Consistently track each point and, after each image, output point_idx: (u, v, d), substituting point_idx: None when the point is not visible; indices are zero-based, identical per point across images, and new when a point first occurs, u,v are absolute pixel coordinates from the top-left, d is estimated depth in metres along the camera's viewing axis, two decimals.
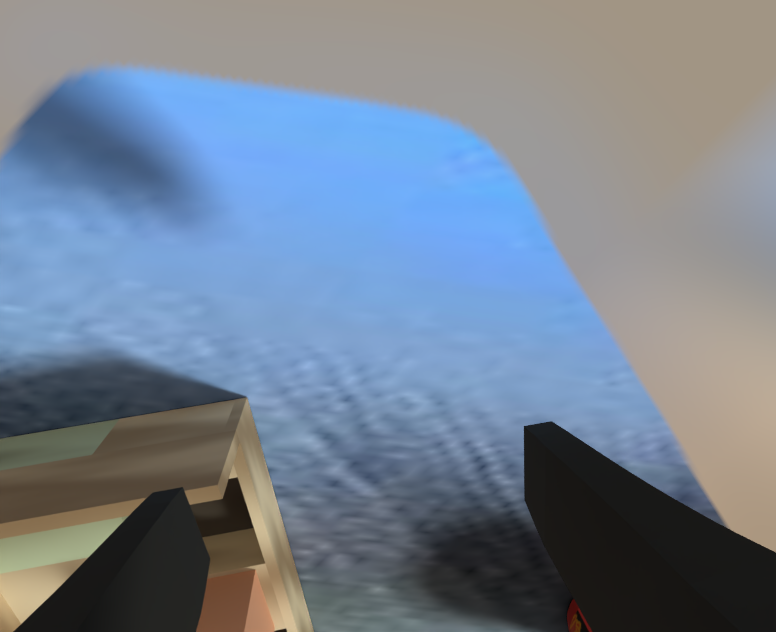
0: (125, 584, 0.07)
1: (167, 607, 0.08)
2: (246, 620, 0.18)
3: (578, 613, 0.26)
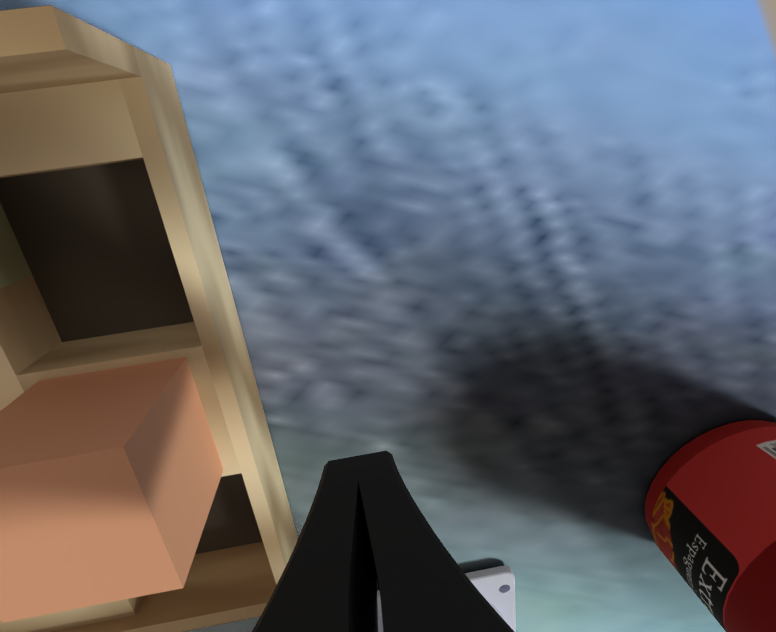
0: (356, 540, 0.07)
1: (368, 568, 0.08)
2: (156, 401, 0.10)
3: (667, 489, 0.18)
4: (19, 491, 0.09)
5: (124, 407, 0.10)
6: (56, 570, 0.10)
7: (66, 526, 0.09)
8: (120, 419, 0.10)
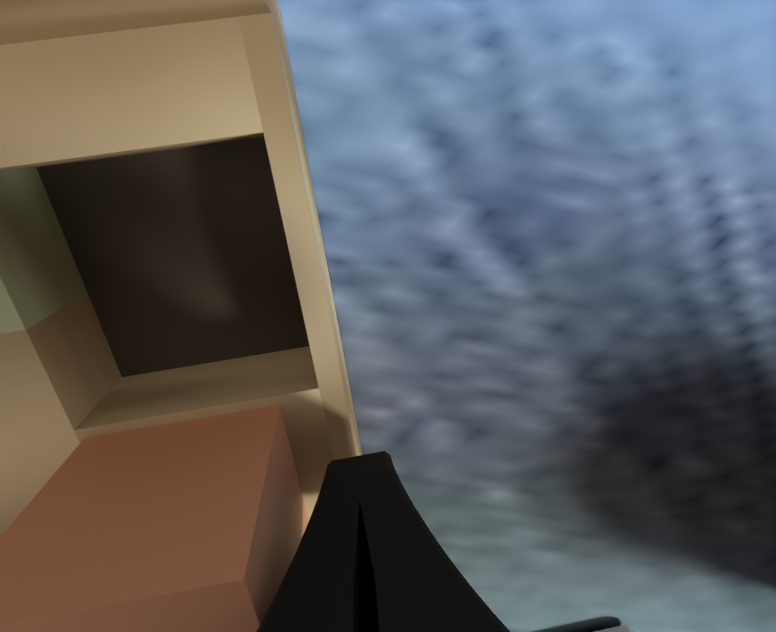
0: (359, 539, 0.07)
1: (371, 567, 0.08)
2: (263, 483, 0.07)
3: None
4: None
5: (220, 494, 0.07)
6: None
7: None
8: (221, 518, 0.07)
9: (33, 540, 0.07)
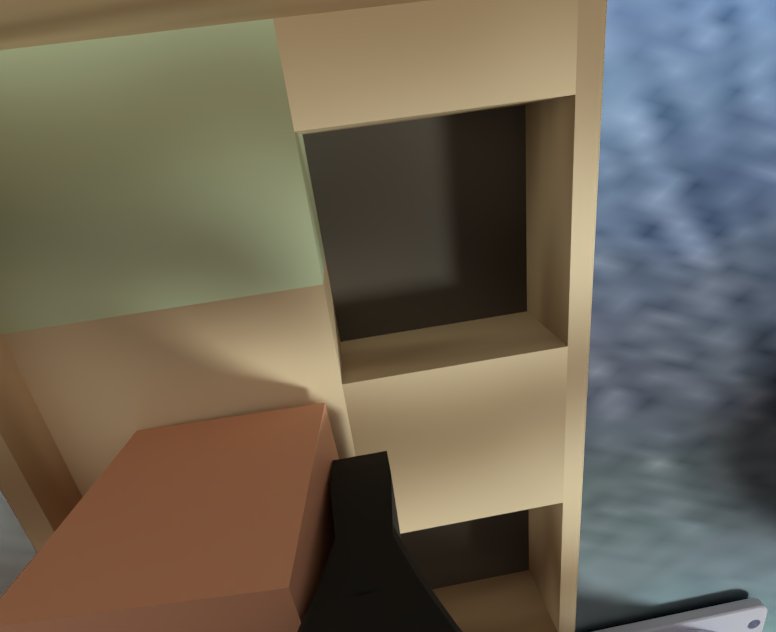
0: None
1: None
2: (309, 485, 0.07)
3: None
4: None
5: (265, 494, 0.07)
6: None
7: None
8: (266, 520, 0.06)
9: (87, 532, 0.07)
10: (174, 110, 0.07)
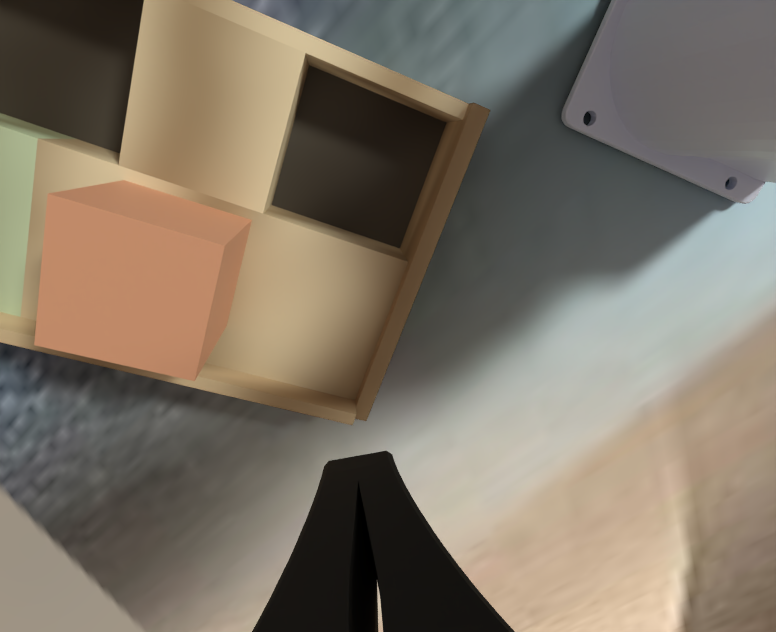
0: (356, 540, 0.07)
1: (368, 568, 0.08)
2: (87, 187, 0.12)
3: None
4: (66, 289, 0.11)
5: None
6: (158, 316, 0.11)
7: (115, 282, 0.11)
8: None
9: None
10: None
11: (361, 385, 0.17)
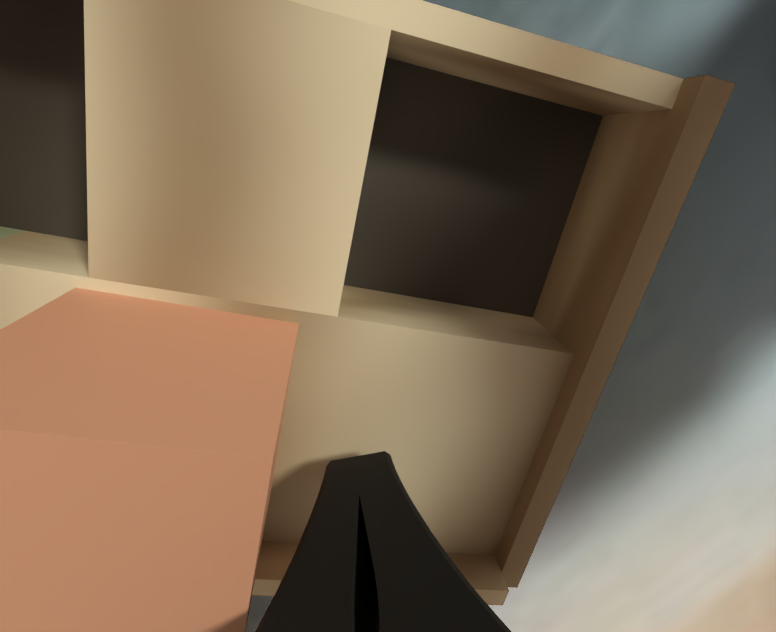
0: (359, 540, 0.07)
1: (370, 568, 0.08)
2: None
3: None
4: None
5: None
6: (150, 599, 0.06)
7: (48, 556, 0.05)
8: None
9: None
10: None
11: (504, 536, 0.11)
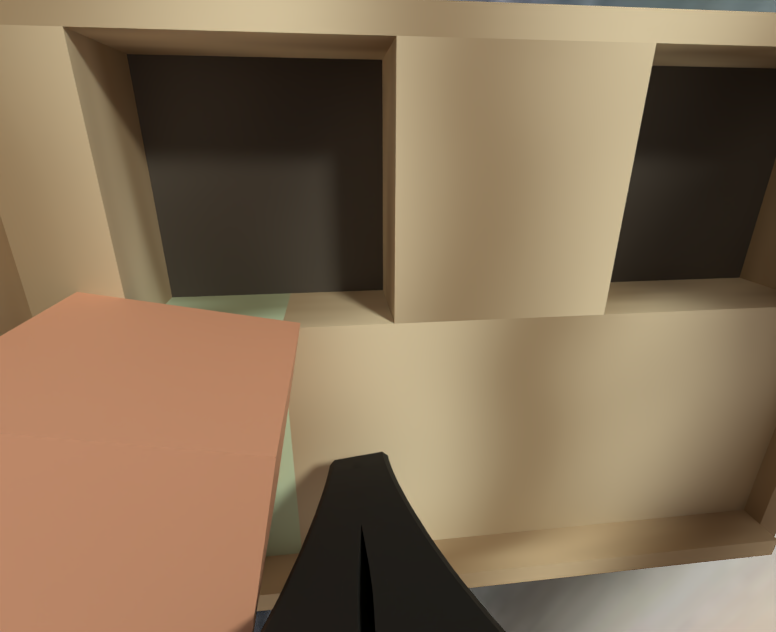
0: (363, 539, 0.07)
1: None
2: None
3: None
4: None
5: None
6: (156, 600, 0.06)
7: (54, 560, 0.05)
8: None
9: None
10: None
11: (755, 490, 0.12)
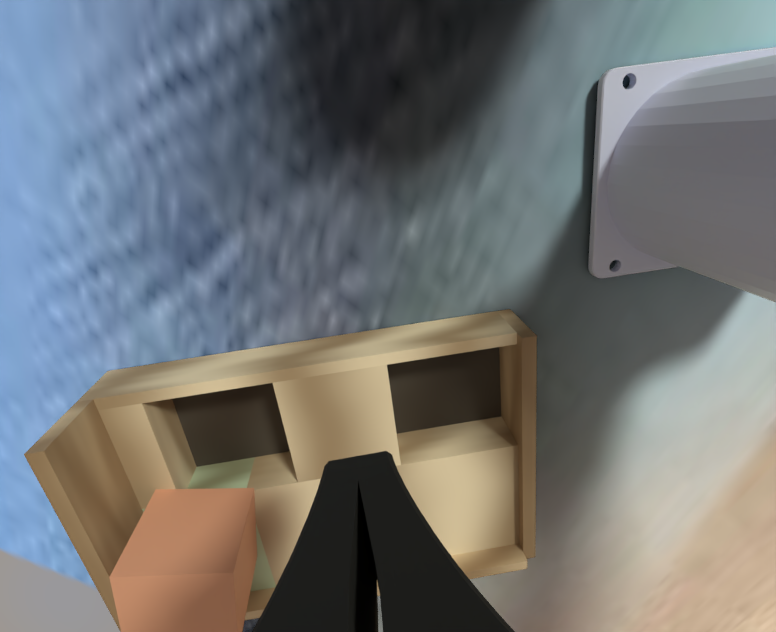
0: (356, 540, 0.07)
1: (368, 568, 0.08)
2: (132, 534, 0.16)
3: None
4: (137, 621, 0.16)
5: None
6: (201, 620, 0.16)
7: (167, 610, 0.16)
8: None
9: None
10: None
11: (519, 533, 0.21)
